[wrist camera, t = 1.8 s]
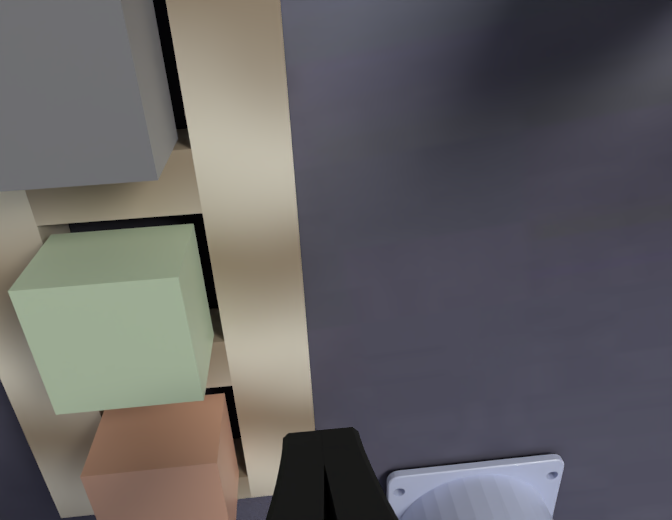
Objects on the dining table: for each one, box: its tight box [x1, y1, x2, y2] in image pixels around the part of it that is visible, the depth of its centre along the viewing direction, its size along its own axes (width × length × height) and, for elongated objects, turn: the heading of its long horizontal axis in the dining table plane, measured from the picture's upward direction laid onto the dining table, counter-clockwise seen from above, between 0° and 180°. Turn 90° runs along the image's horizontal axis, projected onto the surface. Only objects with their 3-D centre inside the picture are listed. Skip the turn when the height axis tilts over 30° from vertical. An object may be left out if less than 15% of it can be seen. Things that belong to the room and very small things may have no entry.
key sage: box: [8, 224, 214, 415], centre depth 16 cm, size 4×4×3 cm
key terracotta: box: [80, 393, 239, 520], centre depth 19 cm, size 4×4×3 cm
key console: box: [0, 0, 315, 518], centre depth 18 cm, size 20×10×2 cm, turn 2°
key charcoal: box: [0, 0, 178, 192], centre depth 13 cm, size 4×4×3 cm
